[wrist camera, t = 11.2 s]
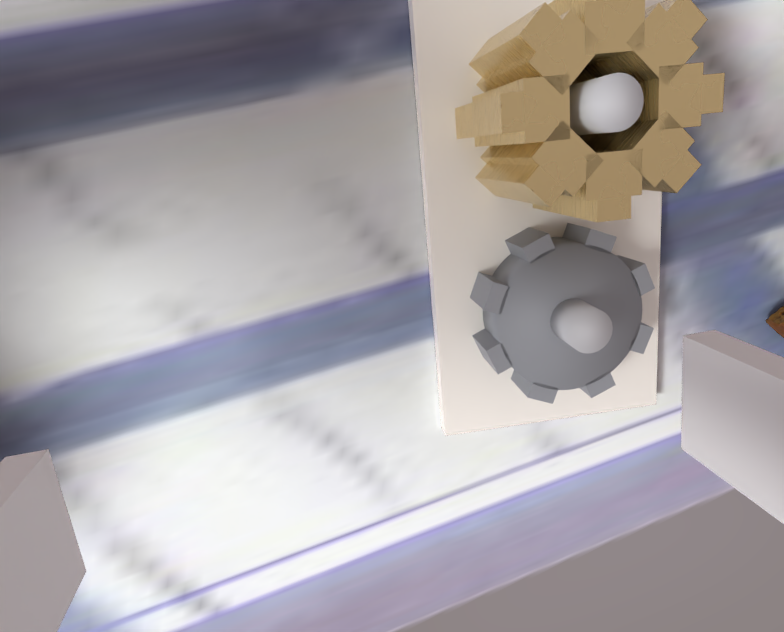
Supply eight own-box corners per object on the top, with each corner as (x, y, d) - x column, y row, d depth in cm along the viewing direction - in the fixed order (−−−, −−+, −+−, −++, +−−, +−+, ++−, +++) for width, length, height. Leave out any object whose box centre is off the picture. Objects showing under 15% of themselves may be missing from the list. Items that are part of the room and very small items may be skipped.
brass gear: (461, 215, 34) (506, 232, 26) (449, 23, 31) (495, -20, 24) (627, 197, 35) (717, 208, 27) (630, 9, 32) (730, -36, 25)
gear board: (441, 427, 38) (480, 507, 30) (406, -21, 32) (444, -89, 23) (646, 397, 40) (741, 465, 31) (655, -37, 33) (782, -108, 24)
